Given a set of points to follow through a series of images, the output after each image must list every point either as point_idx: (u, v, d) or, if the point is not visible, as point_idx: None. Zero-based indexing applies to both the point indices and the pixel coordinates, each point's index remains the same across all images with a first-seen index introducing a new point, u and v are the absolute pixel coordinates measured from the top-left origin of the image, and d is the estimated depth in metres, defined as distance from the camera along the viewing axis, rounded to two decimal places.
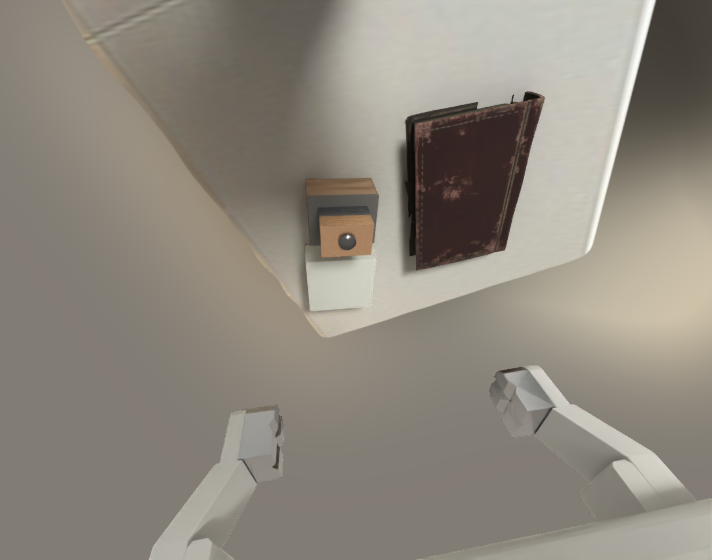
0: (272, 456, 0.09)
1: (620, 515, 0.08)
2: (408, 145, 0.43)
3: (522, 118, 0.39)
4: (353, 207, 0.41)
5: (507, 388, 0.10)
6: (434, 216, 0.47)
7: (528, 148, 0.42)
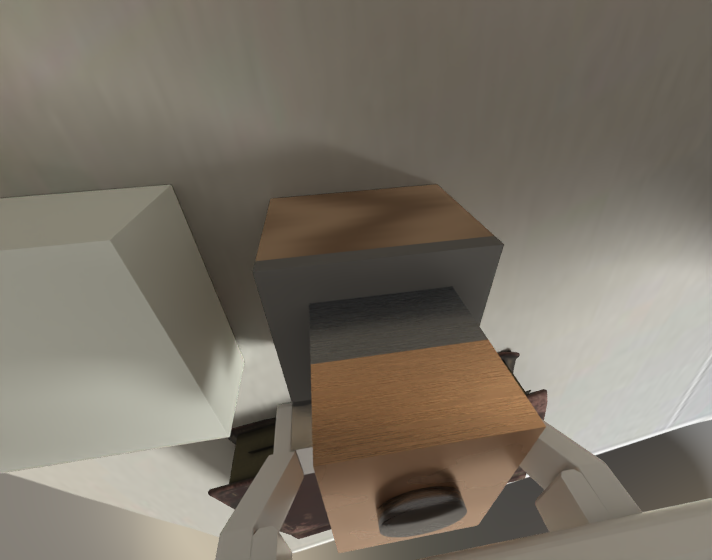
0: None
1: (568, 526, 0.08)
2: None
3: None
4: None
5: None
6: None
7: None
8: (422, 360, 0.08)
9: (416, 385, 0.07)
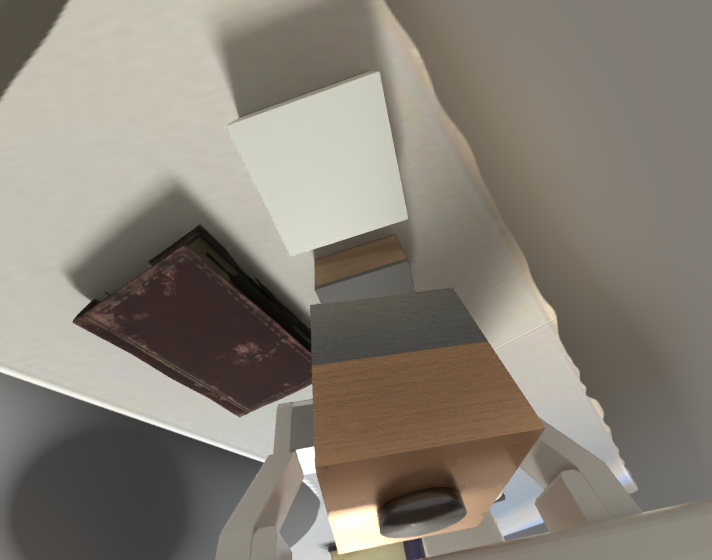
0: None
1: (568, 526, 0.08)
2: None
3: (242, 405, 0.44)
4: None
5: None
6: (243, 323, 0.34)
7: (209, 397, 0.42)
8: (422, 362, 0.08)
9: (417, 386, 0.07)
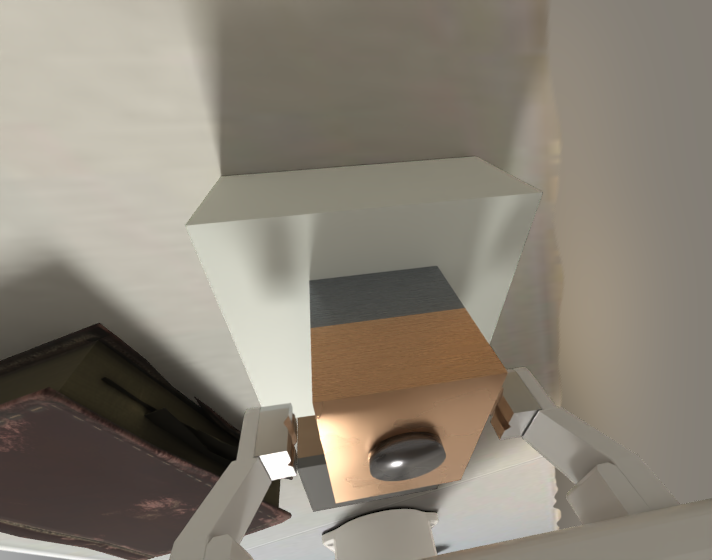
0: (288, 453, 0.09)
1: (604, 518, 0.08)
2: None
3: (144, 551, 0.29)
4: None
5: None
6: (158, 480, 0.20)
7: (88, 547, 0.26)
8: (407, 324, 0.09)
9: (400, 343, 0.08)
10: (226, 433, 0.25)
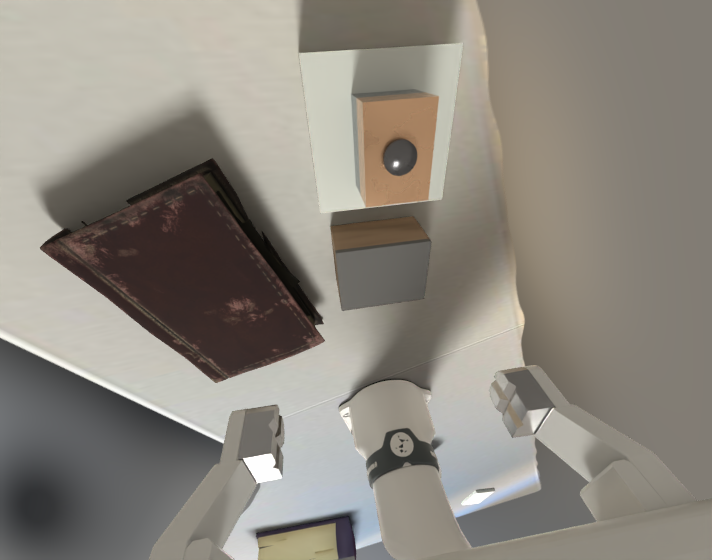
0: (272, 456, 0.09)
1: (620, 515, 0.08)
2: (310, 304, 0.41)
3: (222, 370, 0.41)
4: None
5: (507, 388, 0.10)
6: (244, 276, 0.32)
7: (187, 357, 0.38)
8: (399, 95, 0.20)
9: (396, 96, 0.20)
10: None
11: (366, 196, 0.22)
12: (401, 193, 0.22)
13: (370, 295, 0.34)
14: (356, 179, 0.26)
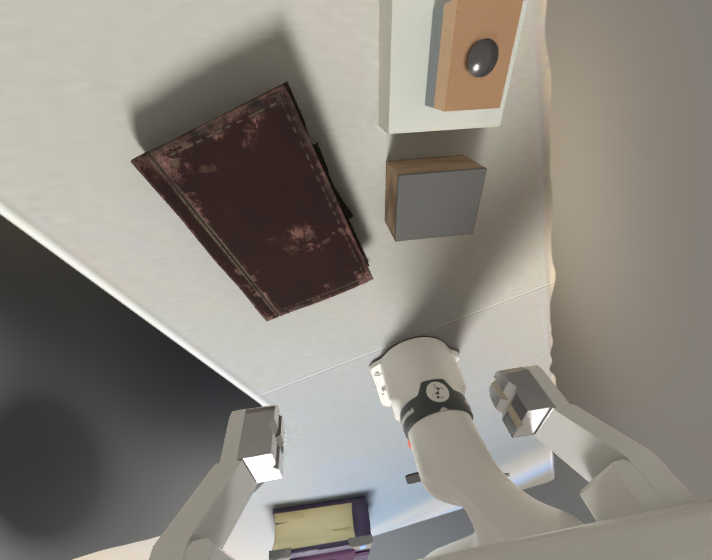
0: (272, 456, 0.09)
1: (620, 515, 0.08)
2: (358, 244, 0.43)
3: (274, 306, 0.42)
4: None
5: (507, 388, 0.10)
6: (308, 200, 0.34)
7: (244, 290, 0.40)
8: None
9: None
10: None
11: (446, 99, 0.24)
12: (477, 98, 0.25)
13: (424, 225, 0.36)
14: (427, 97, 0.28)
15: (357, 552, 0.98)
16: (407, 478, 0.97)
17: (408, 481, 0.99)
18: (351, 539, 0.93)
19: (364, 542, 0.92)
